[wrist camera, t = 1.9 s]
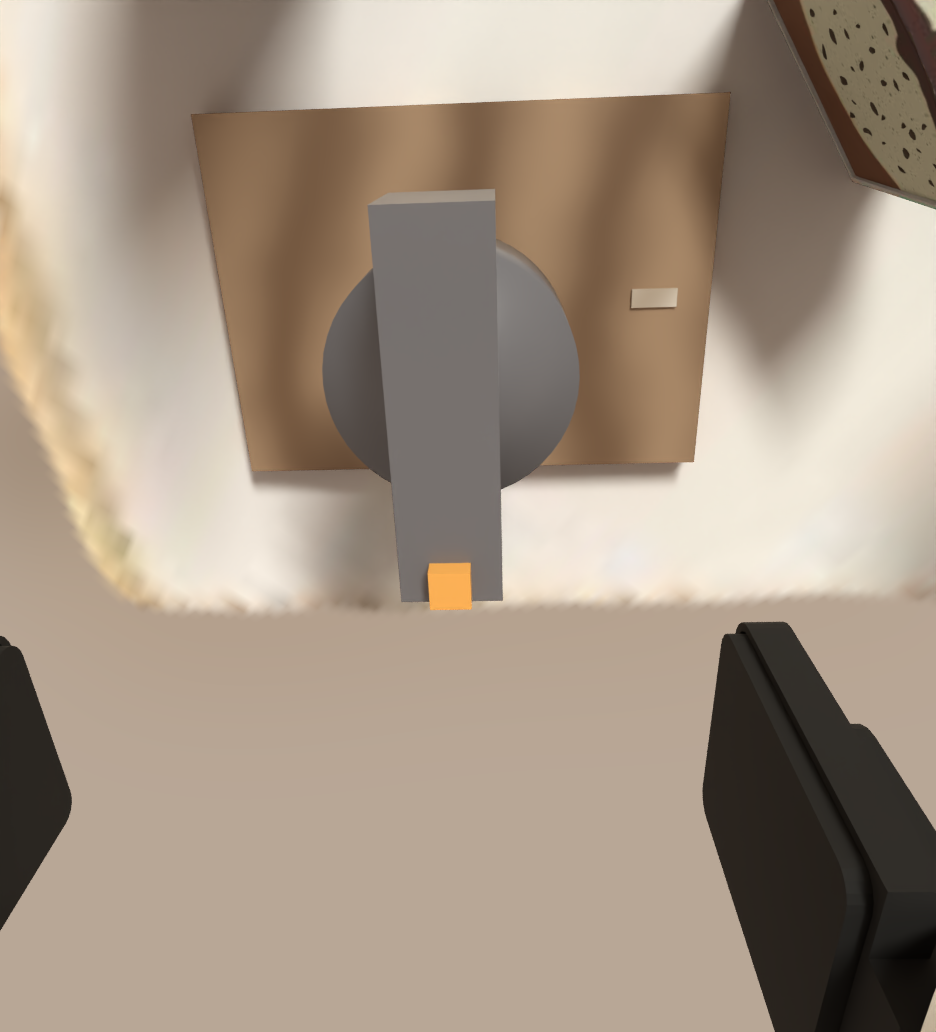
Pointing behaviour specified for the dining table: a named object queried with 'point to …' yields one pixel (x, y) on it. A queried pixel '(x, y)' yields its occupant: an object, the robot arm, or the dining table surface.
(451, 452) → the rotary lever handle
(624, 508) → the dining table surface
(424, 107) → the board
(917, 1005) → the robot arm
